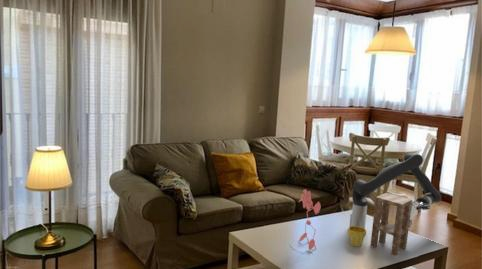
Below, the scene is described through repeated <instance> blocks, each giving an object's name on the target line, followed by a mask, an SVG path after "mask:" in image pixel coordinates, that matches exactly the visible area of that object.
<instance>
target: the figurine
mask: <svg viewBox="0 0 482 269" xmlns="http://www.w3.org/2000/svg"><path fill="white" fill-rule="evenodd" d="M302 191H303V193H301V195H300V197H301V198H300V200H299V201H298V203H300V202H301V201H302V208H303V209H306V210H307V211H306V217H307V220H306V222H305V227H304V228H305V229H304V233H303V234H302V235H301V236H300V237H299V239H298V242H301V241H303V240H304V239H305V238H306V239H307V242H308V243H307V244H308V250H309V251H311V250H312V249H313V248H315V250H316V249H317V246H316V241H315V239H314V238H315V234H316V229H315V228H314V227H313V226H312V225H311V223H312V222H311V220H309V215H308V214H309V212H310V211H312V210H313V211H314V214H315V215H317V214H319V213H320V211H321V207H322V206H321V203H320V201H317V203H315V205H314V203H313V201H312V196H311V195H312V193H311V191H310V190H309V191H308V190H307V189H303V190H302ZM307 226H310V227H311V228H312V229H313V230H314V232H313V236H312V238H311V239H310V240H309V238H308V236H307V235H308V233H307V232H306V231H307ZM303 254H305V255H306V253H304V252H303Z"/></svg>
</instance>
